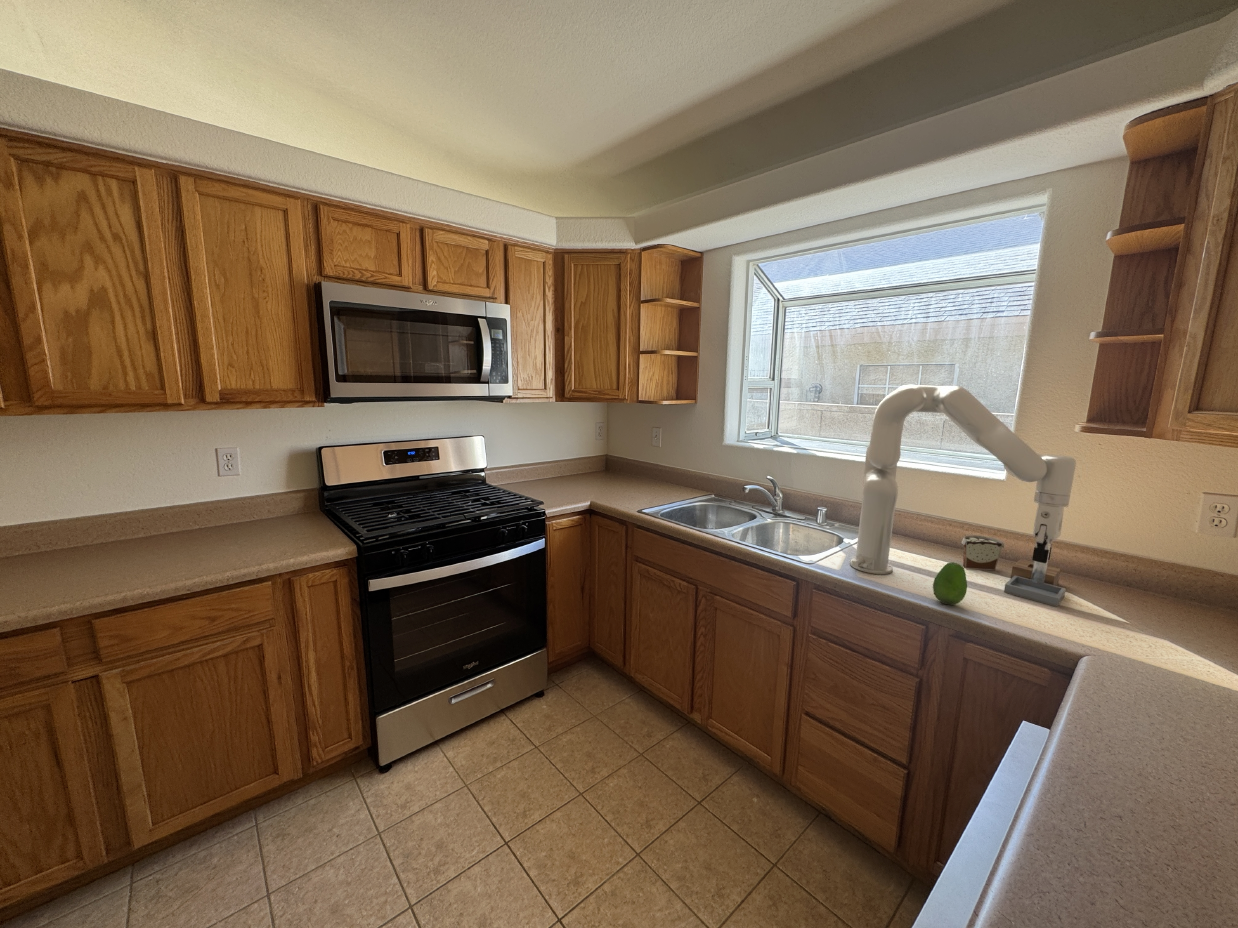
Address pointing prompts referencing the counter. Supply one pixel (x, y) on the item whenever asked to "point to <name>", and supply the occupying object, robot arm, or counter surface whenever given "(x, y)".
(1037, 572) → the pin
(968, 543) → the food container
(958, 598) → the avocado
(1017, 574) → the pin block
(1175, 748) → the counter surface
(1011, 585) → the tray
